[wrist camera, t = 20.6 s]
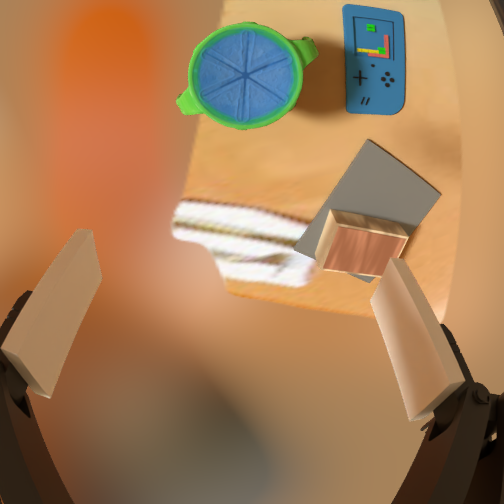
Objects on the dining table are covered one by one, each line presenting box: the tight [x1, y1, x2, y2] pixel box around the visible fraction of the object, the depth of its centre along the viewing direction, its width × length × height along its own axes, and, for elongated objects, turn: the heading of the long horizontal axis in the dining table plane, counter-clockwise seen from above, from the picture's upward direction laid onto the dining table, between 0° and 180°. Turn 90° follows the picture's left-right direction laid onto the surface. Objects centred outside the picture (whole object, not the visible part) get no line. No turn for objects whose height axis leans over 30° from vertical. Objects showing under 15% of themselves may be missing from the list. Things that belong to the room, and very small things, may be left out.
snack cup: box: [176, 22, 319, 130], centre depth 28 cm, size 16×11×10 cm
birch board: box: [315, 209, 409, 277], centre depth 44 cm, size 4×8×12 cm
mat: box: [294, 139, 441, 283], centre depth 44 cm, size 20×16×1 cm
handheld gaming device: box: [342, 4, 405, 115], centre depth 30 cm, size 8×1×15 cm
